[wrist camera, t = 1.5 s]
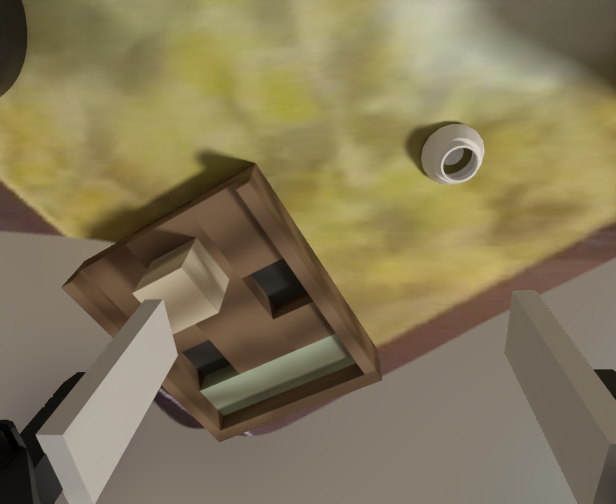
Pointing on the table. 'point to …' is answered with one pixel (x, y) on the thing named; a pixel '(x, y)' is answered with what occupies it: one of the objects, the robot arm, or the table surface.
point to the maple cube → (185, 285)
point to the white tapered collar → (452, 153)
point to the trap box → (241, 310)
